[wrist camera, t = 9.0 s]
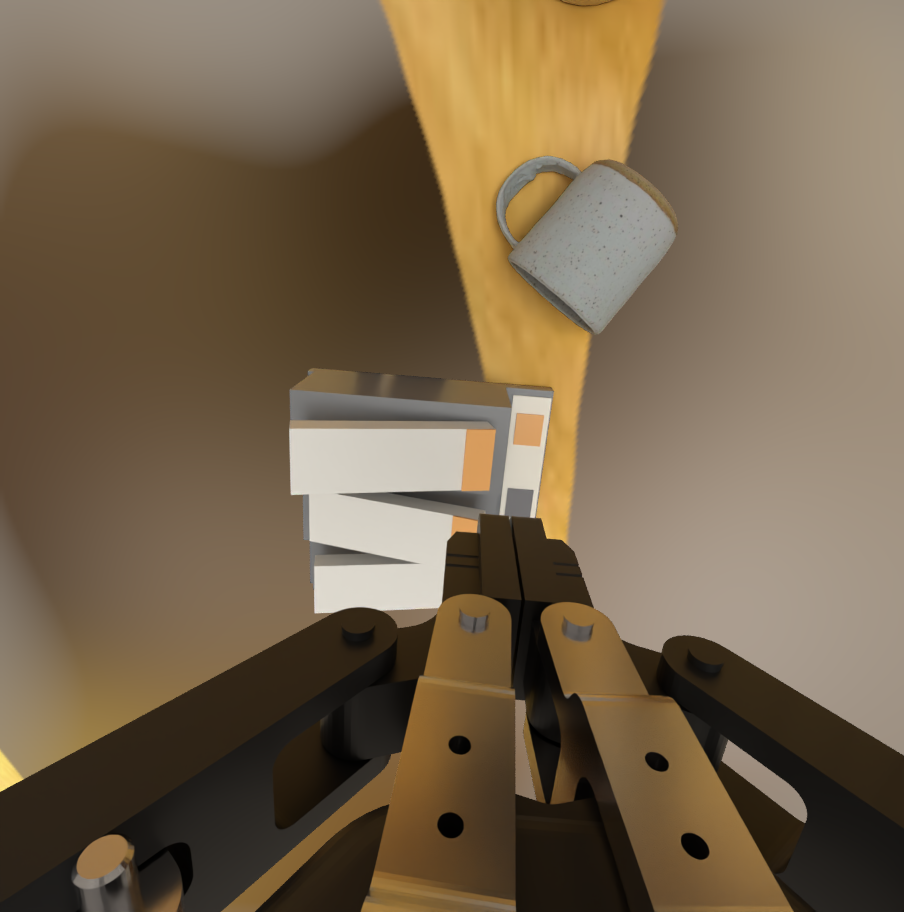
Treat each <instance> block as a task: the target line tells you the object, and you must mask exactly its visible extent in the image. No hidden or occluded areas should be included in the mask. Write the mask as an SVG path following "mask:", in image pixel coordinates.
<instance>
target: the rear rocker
mask: <svg viewBox="0 0 904 912" xmlns="http://www.w3.org/2000/svg"><path fill="white" fill-rule="evenodd" d="M444 571H445V569H444V568H439V567H434V566H429V565H425V564H420V563H415V562H410V561H405V560H400V559H395V558H390V557H385V556H381V555H376V554H337V555H315V563H314V591H315V592H314V596H315V597H314V600H315V602H314V603H315V613H332V612H337V611H340V610H343V609H347V608H354V607H366V608H373V609H377V610H403V609H425V608H439V606H440V605H441V604H442V595H443V583H444Z"/></svg>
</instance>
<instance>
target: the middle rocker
mask: <svg viewBox="0 0 904 912" xmlns="http://www.w3.org/2000/svg"><path fill="white" fill-rule="evenodd" d="M485 511H486V510H480V509H475V508H469V507H464V506H458V505H452V504H447V503H441V502H436V501H430V500H424V499H419V498H413V497H408V496H402V495H396V494H391V493H385V492H376V493H339V494H309V533H310V541H312V542H317V543H322V544H327V545H332V546H337V547H342V548H346V549H351V550H356V551H361V552H366V553H371V554H376V555H381V556H385V557H390V558H395V559H400V560H405V561H410V562H415V563H420V564H425V565H429V566H434V567H439V568H444V569H445V559H446V547H447V541H448V540H449V539H450V538H451V536H452V535H453V534H454V533H455V532H456V531H459V532H471V533H477V525H478V517H479V513H481V514H485Z"/></svg>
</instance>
